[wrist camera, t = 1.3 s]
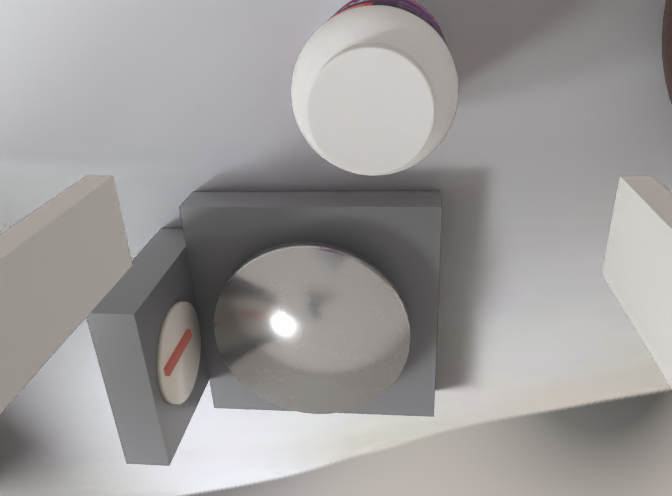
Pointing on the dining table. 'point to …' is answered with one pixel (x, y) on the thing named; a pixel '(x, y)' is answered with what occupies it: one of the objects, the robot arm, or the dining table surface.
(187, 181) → the dining table surface
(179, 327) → the dial scale
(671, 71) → the wooden bowl
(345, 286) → the scale pan
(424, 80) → the pill bottle
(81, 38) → the dining table surface
